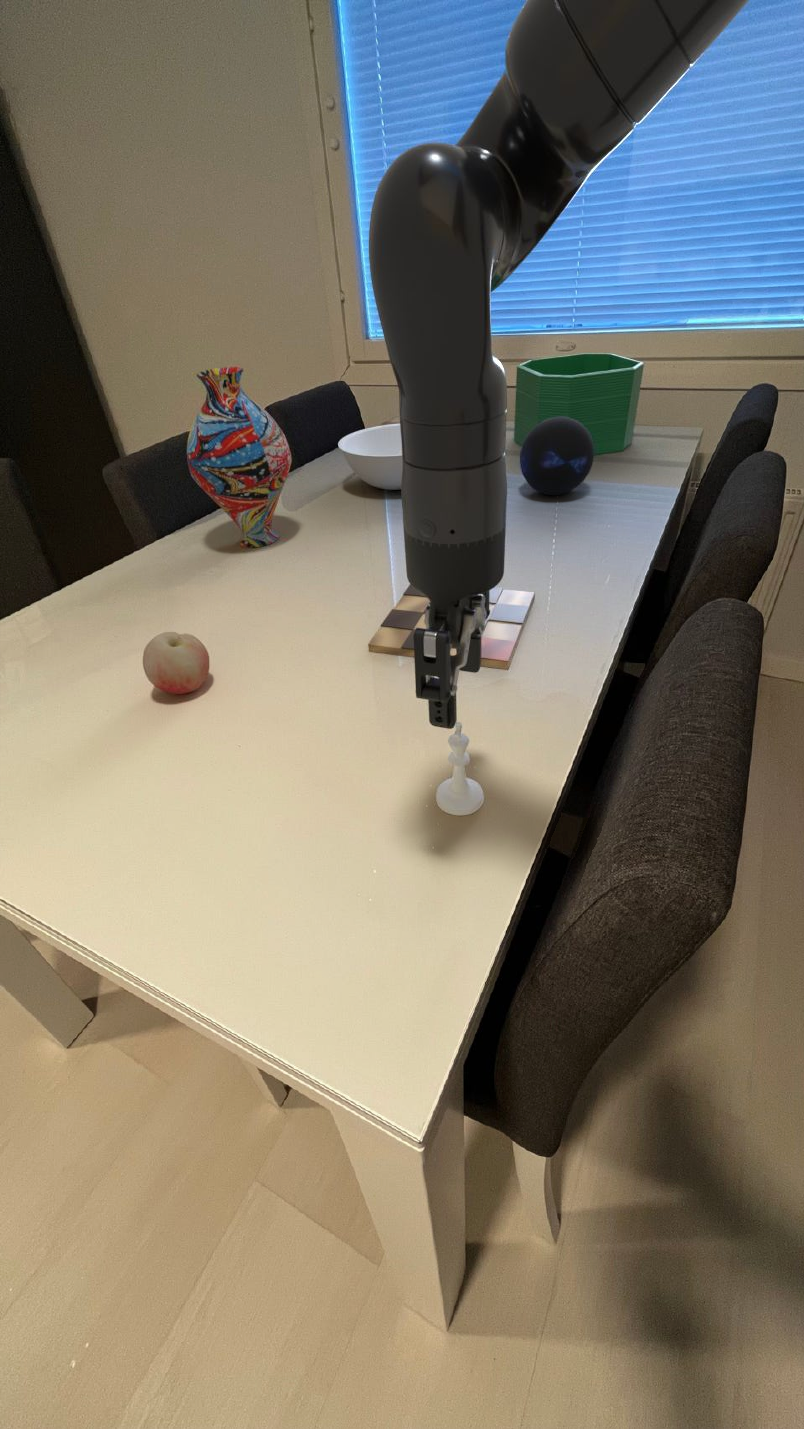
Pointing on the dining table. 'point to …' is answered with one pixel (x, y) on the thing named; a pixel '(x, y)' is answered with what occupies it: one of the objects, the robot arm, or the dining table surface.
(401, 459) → the bowl
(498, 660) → the game board
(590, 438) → the decorative sphere
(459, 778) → the chess piece
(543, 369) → the planter
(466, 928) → the dining table surface
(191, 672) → the fruit
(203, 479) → the vase
